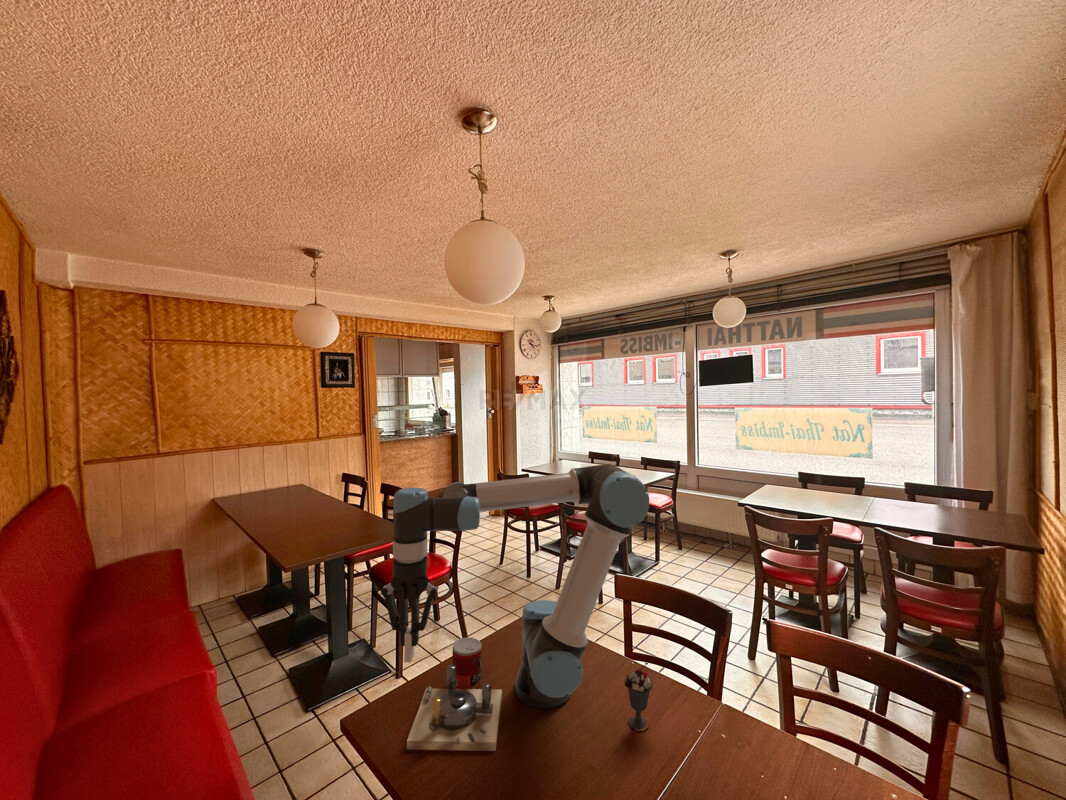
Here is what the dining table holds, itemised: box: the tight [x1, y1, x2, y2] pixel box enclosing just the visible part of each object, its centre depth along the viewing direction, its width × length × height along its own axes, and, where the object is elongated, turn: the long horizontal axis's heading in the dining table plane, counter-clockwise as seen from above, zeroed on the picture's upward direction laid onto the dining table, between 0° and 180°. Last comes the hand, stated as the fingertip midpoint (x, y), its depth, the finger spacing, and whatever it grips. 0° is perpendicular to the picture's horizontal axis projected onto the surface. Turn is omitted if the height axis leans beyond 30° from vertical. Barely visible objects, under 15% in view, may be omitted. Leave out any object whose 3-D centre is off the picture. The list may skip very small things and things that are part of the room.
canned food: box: [452, 637, 483, 689], centre depth 121 cm, size 8×8×11 cm
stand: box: [406, 686, 503, 752], centre depth 108 cm, size 20×18×4 cm
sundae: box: [624, 662, 654, 731], centre depth 107 cm, size 7×7×15 cm
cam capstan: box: [429, 663, 493, 732], centre depth 106 cm, size 13×16×7 cm
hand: (409, 658), depth 101 cm, fingers closed
